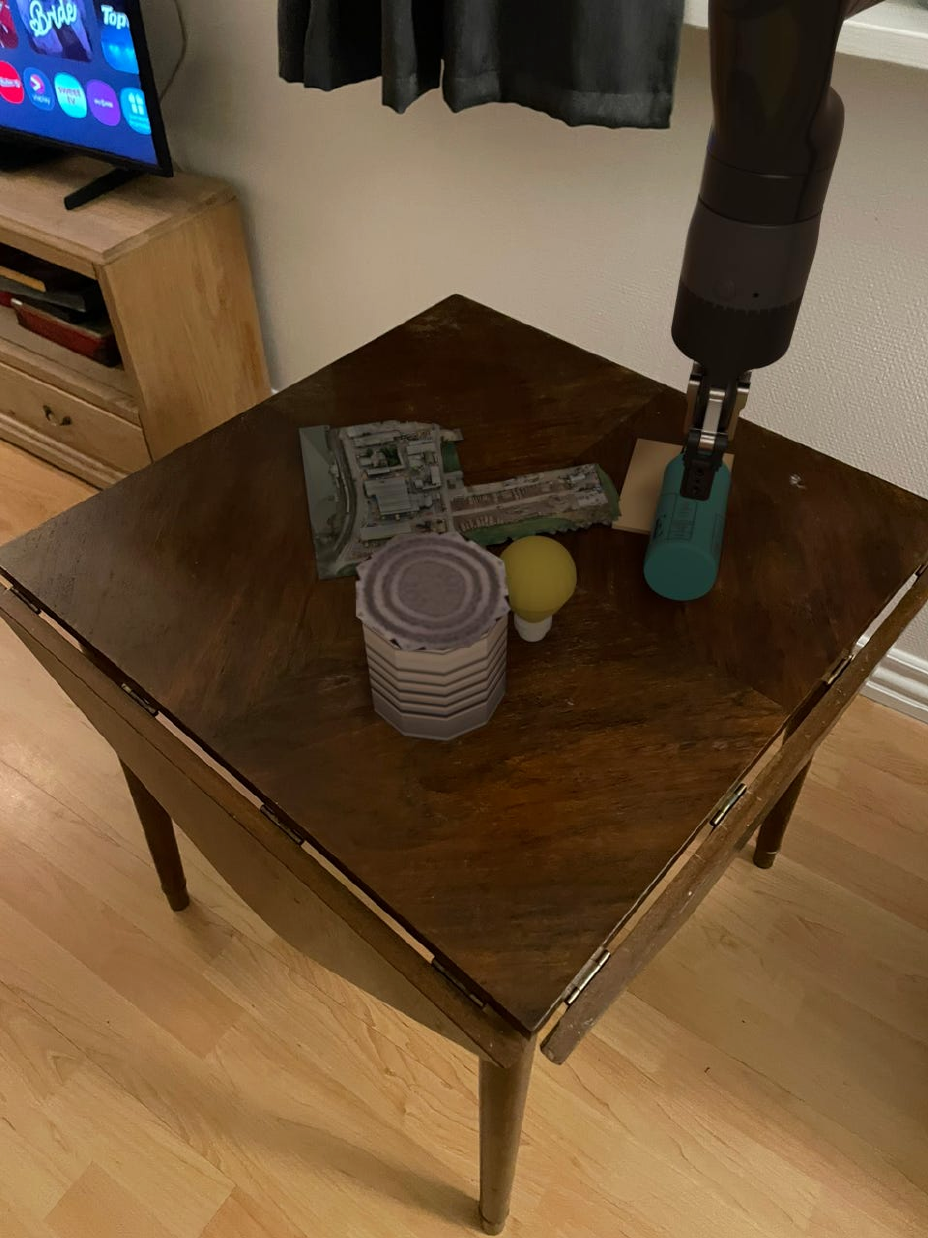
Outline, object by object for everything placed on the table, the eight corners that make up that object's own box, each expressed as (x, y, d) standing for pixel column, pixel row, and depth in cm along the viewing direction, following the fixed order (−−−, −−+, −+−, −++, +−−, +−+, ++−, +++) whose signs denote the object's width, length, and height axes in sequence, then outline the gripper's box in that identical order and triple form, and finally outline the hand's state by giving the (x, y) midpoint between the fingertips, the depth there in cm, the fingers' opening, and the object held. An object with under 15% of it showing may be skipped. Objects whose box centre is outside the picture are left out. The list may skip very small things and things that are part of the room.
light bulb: (515, 671, 77) (519, 587, 70) (480, 618, 82) (480, 533, 74) (585, 644, 79) (596, 560, 72) (547, 594, 83) (554, 509, 76)
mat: (733, 459, 96) (734, 454, 96) (716, 548, 87) (717, 543, 87) (636, 442, 98) (637, 437, 98) (611, 528, 89) (611, 523, 89)
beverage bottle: (733, 593, 77) (751, 456, 90) (679, 542, 75) (707, 410, 88) (672, 625, 81) (698, 490, 94) (620, 577, 79) (654, 446, 92)
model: (635, 529, 88) (636, 516, 87) (319, 580, 85) (316, 567, 84) (574, 401, 102) (574, 389, 101) (301, 441, 99) (299, 428, 98)
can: (493, 626, 81) (494, 522, 72) (519, 731, 73) (524, 630, 64) (362, 643, 80) (347, 539, 71) (374, 751, 72) (359, 651, 63)
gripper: (801, 338, 52) (736, 562, 64) (812, 232, 60) (753, 449, 73) (665, 319, 53) (629, 541, 66) (695, 218, 62) (657, 433, 74)
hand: (694, 492), depth 69 cm, fingers closed
